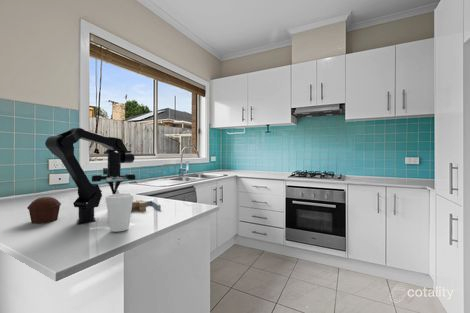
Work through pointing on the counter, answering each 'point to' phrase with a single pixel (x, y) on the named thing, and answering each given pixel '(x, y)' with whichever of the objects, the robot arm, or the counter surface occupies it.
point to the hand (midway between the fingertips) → (113, 194)
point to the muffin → (44, 210)
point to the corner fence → (153, 204)
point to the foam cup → (119, 211)
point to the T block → (138, 205)
